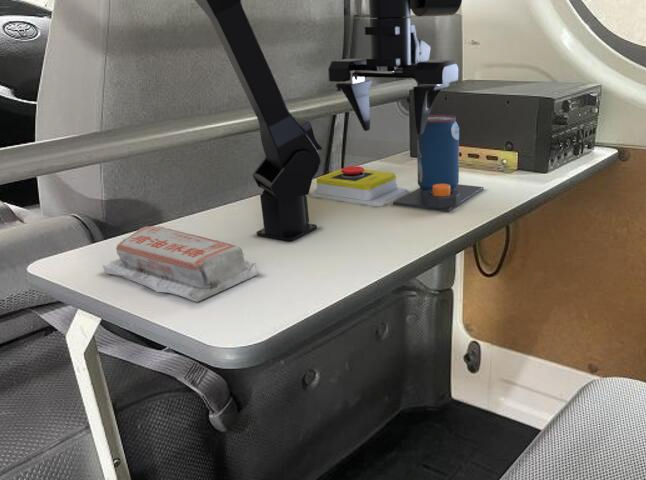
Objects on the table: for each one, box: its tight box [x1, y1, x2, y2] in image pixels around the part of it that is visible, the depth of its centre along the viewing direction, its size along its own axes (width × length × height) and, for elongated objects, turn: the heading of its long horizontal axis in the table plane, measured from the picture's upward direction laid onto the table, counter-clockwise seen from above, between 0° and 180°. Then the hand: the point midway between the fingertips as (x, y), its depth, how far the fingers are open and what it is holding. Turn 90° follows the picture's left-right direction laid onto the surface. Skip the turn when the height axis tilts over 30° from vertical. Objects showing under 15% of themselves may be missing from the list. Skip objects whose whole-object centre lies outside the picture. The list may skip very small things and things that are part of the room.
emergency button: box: [310, 165, 409, 207], centre depth 108 cm, size 9×4×15 cm
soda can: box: [416, 114, 460, 192], centre depth 105 cm, size 7×7×12 cm
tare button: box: [433, 184, 450, 196], centre depth 99 cm, size 3×3×2 cm
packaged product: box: [101, 225, 259, 303], centre depth 77 cm, size 18×5×10 cm
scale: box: [392, 183, 485, 213], centre depth 104 cm, size 14×10×2 cm
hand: (393, 132), depth 94 cm, fingers open, 9 cm apart
